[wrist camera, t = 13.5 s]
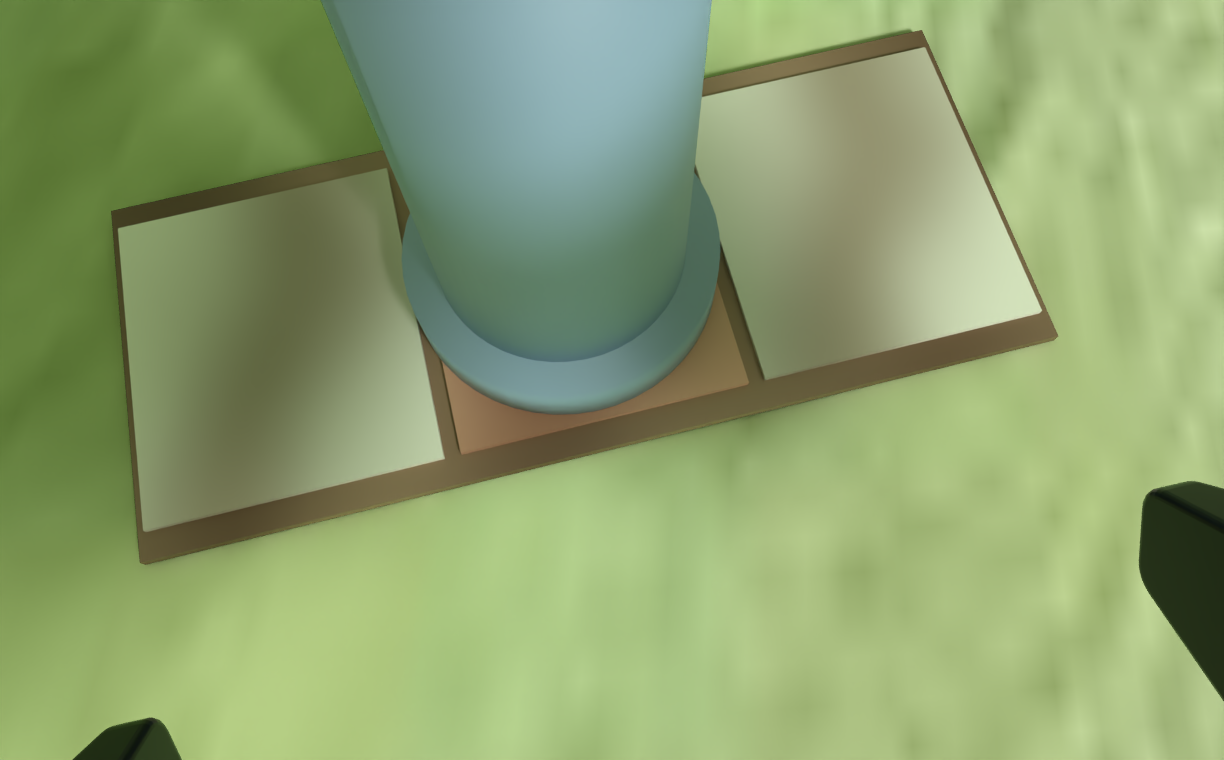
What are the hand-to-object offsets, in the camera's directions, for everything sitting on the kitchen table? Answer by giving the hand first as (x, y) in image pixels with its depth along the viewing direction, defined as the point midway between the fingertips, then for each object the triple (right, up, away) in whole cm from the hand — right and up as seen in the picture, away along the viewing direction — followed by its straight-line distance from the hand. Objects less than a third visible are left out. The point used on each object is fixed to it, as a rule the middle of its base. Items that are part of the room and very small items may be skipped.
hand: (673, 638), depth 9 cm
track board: (-1, +4, +10) cm, 11 cm away
